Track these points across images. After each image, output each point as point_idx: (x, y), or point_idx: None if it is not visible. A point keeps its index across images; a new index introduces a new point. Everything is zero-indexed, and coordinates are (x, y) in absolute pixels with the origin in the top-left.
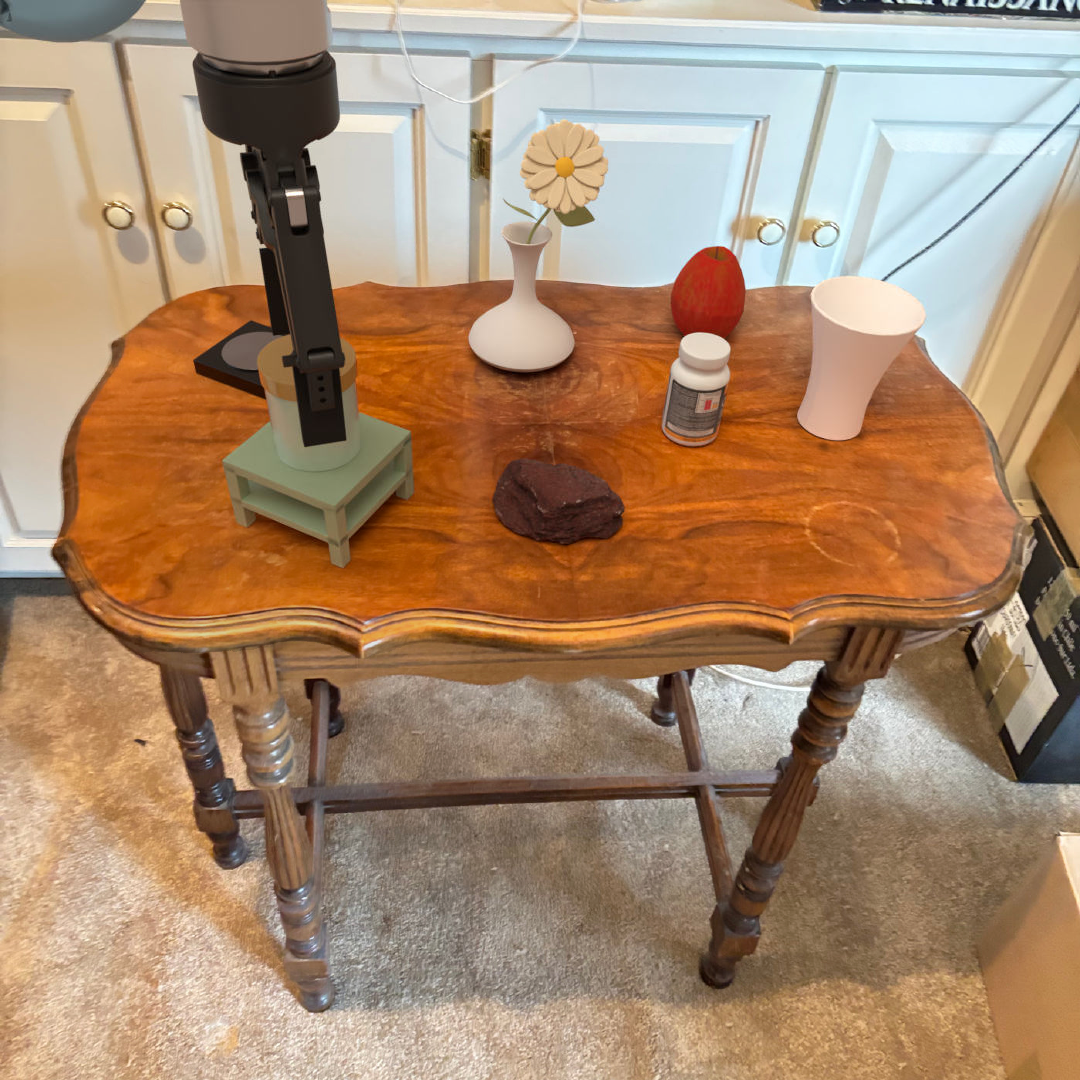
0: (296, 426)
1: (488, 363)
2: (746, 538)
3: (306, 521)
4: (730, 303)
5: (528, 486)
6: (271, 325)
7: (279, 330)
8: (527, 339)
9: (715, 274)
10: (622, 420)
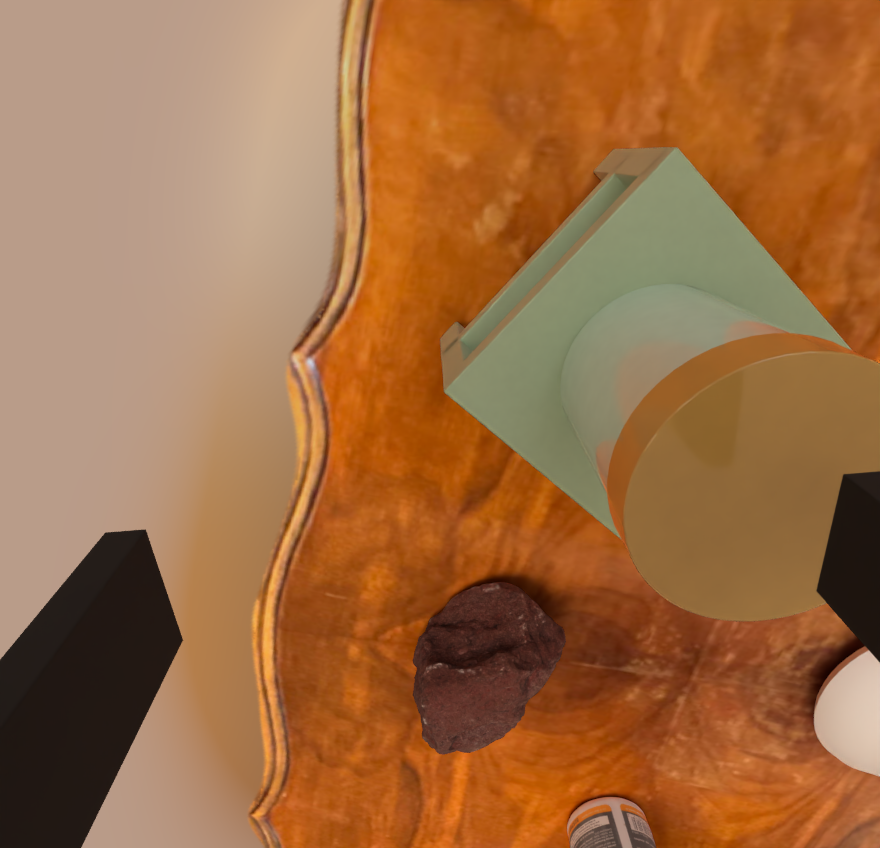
0: (608, 383)
1: None
2: (388, 816)
3: (510, 305)
4: None
5: (481, 666)
6: (876, 498)
7: (851, 508)
8: (877, 732)
9: None
10: (659, 760)
